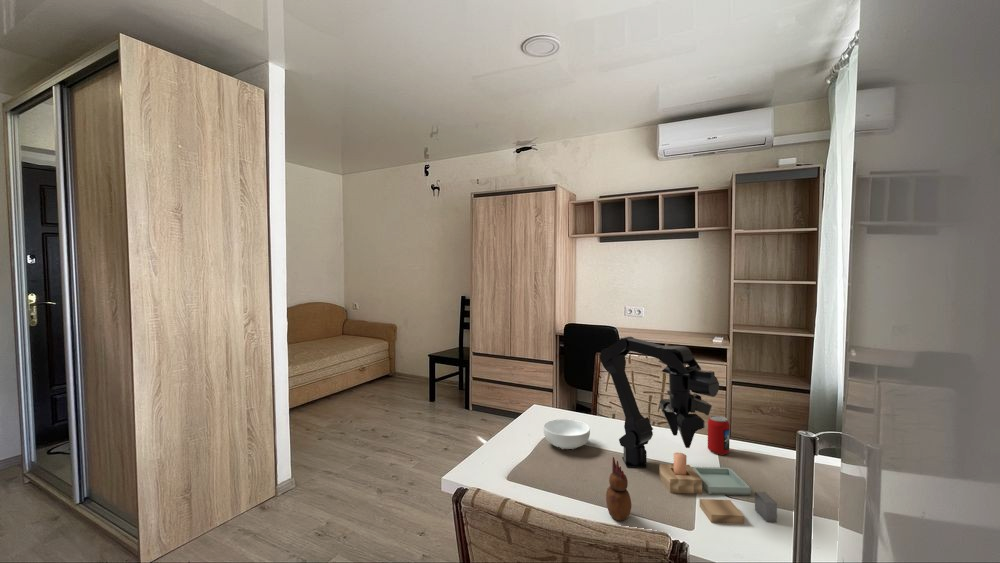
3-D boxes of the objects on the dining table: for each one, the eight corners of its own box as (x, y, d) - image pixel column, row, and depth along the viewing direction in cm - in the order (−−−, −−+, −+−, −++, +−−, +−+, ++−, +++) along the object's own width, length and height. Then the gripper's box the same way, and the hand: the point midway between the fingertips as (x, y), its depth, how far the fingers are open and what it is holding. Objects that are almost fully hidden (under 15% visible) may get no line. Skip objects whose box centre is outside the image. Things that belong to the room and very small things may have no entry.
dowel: (676, 487, 118) (676, 457, 118) (671, 481, 121) (671, 452, 121) (688, 488, 118) (688, 458, 117) (683, 481, 121) (683, 452, 121)
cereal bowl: (596, 442, 150) (596, 423, 150) (580, 460, 136) (580, 439, 136) (554, 432, 159) (554, 415, 159) (535, 448, 145) (535, 429, 145)
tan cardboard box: (711, 524, 102) (711, 514, 101) (699, 507, 109) (699, 498, 108) (743, 525, 101) (744, 515, 101) (729, 509, 108) (730, 499, 108)
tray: (708, 494, 114) (708, 486, 114) (691, 473, 126) (691, 466, 126) (750, 495, 114) (750, 487, 114) (729, 474, 125) (729, 467, 125)
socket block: (670, 492, 115) (670, 479, 115) (659, 476, 124) (659, 464, 124) (702, 493, 115) (702, 479, 115) (689, 477, 124) (689, 464, 124)
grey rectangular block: (766, 521, 102) (766, 502, 102) (754, 510, 107) (755, 491, 107) (776, 522, 101) (776, 502, 101) (764, 510, 106) (765, 491, 106)
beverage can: (732, 456, 137) (732, 422, 137) (711, 455, 139) (711, 420, 138) (725, 448, 144) (725, 415, 143) (705, 446, 145) (705, 414, 145)
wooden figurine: (603, 509, 108) (603, 454, 107) (623, 508, 108) (623, 453, 108) (612, 525, 101) (612, 466, 100) (634, 523, 101) (634, 465, 101)
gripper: (723, 398, 110) (724, 454, 110) (693, 381, 128) (694, 429, 128) (681, 398, 110) (683, 455, 110) (658, 381, 129) (659, 429, 129)
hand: (681, 441), depth 119 cm, fingers open, 9 cm apart
